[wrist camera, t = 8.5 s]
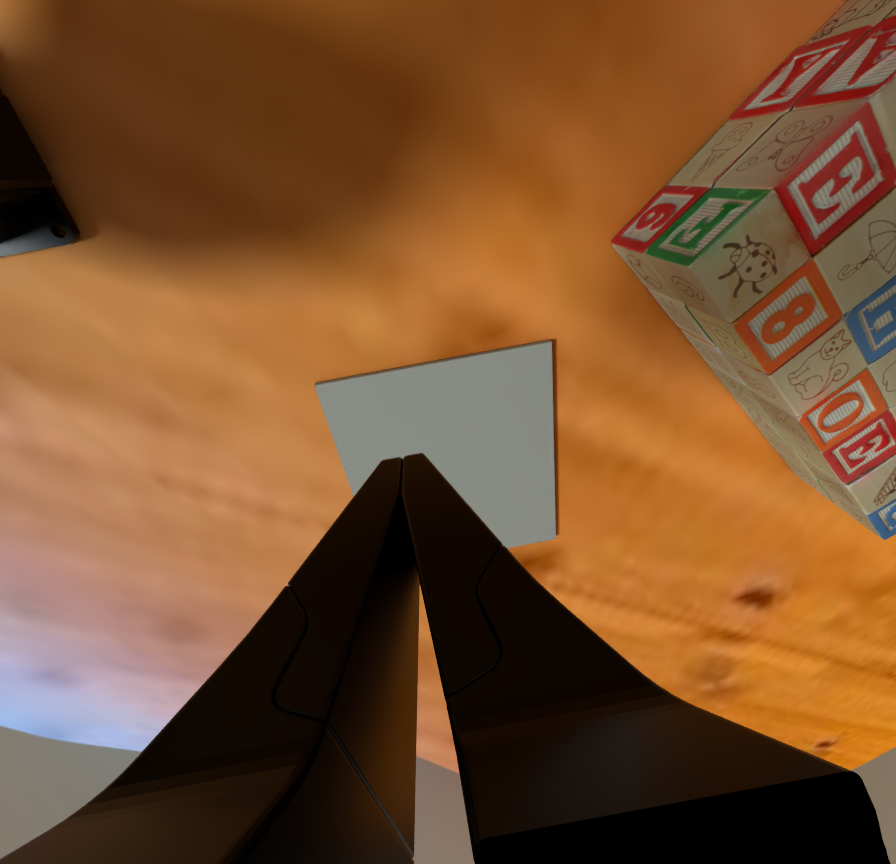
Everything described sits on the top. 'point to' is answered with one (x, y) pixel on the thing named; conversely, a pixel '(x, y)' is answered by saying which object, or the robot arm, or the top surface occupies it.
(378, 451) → the grey rubber mat
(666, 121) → the top surface
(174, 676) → the top surface
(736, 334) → the stack of blocks
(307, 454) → the top surface
